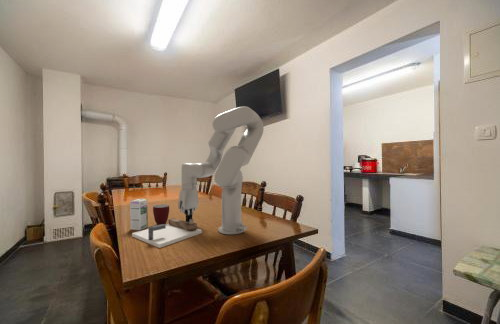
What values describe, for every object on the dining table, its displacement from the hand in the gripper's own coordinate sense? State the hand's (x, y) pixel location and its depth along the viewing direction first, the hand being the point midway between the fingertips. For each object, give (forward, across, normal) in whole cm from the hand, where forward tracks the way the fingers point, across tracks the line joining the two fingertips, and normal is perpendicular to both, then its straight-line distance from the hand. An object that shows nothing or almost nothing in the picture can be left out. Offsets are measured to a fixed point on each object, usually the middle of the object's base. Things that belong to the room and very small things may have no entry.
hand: (189, 221), depth 115 cm
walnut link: (+1, +6, +2) cm, 6 cm away
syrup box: (+3, +16, -19) cm, 25 cm away
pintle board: (+3, +14, +1) cm, 14 cm away
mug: (+3, +5, -16) cm, 17 cm away
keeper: (+1, +22, +5) cm, 22 cm away
